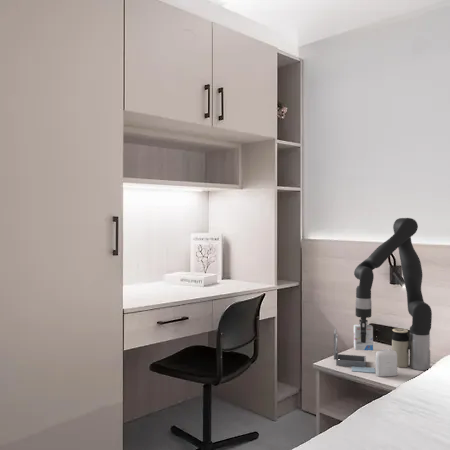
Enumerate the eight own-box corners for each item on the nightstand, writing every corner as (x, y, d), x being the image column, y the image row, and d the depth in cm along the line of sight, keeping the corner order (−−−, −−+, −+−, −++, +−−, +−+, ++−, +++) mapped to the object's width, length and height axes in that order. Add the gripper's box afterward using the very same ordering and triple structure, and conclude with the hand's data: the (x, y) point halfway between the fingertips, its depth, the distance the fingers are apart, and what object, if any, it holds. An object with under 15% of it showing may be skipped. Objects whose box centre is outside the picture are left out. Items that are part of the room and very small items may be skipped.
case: (365, 360, 249) (365, 330, 248) (365, 367, 238) (365, 335, 237) (334, 358, 253) (334, 328, 252) (333, 365, 242) (333, 333, 242)
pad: (374, 368, 236) (374, 367, 236) (375, 373, 230) (375, 372, 230) (351, 366, 239) (351, 366, 239) (351, 371, 233) (351, 370, 233)
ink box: (371, 347, 236) (371, 324, 236) (373, 350, 231) (373, 326, 231) (353, 347, 237) (353, 323, 237) (355, 350, 232) (355, 326, 232)
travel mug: (389, 365, 241) (389, 330, 240) (396, 361, 247) (396, 327, 246) (404, 369, 235) (404, 333, 235) (411, 365, 241) (411, 330, 240)
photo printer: (377, 377, 224) (377, 351, 224) (374, 374, 228) (374, 348, 228) (398, 376, 225) (398, 350, 225) (394, 373, 229) (394, 347, 229)
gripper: (371, 310, 226) (371, 345, 226) (371, 304, 239) (371, 337, 240) (355, 309, 228) (355, 344, 228) (355, 303, 241) (355, 336, 242)
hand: (363, 340), depth 234 cm, fingers closed on ink box, 5 cm apart
